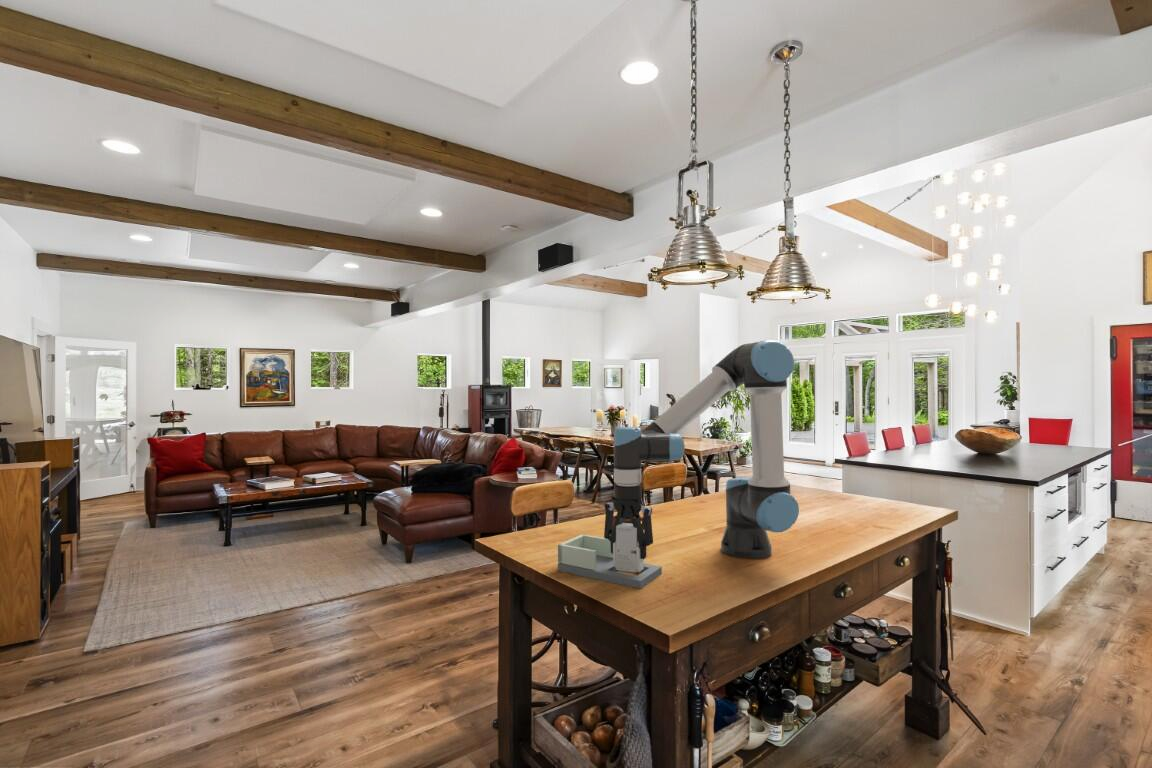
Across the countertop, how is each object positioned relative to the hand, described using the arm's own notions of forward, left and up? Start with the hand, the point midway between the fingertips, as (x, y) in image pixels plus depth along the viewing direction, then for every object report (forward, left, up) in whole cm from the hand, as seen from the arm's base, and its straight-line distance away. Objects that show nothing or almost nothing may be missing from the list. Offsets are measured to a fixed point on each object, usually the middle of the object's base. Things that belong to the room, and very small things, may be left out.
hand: (628, 567), depth 149 cm
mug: (+13, -26, -3) cm, 29 cm away
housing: (+13, 0, 0) cm, 13 cm away
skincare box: (0, 0, -1) cm, 1 cm away
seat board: (+6, 0, -2) cm, 6 cm away
